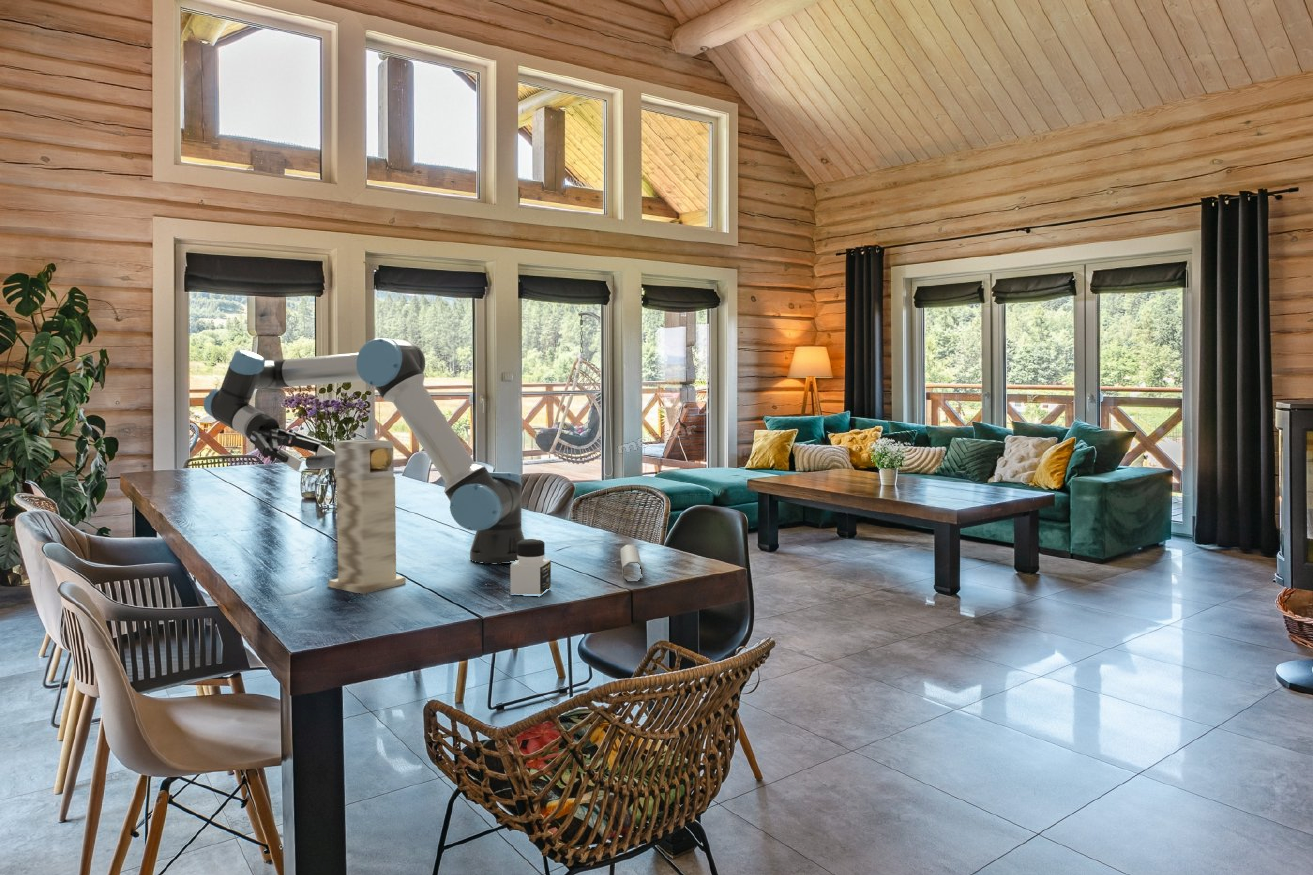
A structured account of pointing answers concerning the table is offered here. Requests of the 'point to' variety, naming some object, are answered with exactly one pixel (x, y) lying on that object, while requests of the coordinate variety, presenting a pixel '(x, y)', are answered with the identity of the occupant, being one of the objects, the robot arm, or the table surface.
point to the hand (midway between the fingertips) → (319, 463)
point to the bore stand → (365, 519)
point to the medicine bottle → (530, 568)
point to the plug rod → (377, 460)
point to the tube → (630, 557)
